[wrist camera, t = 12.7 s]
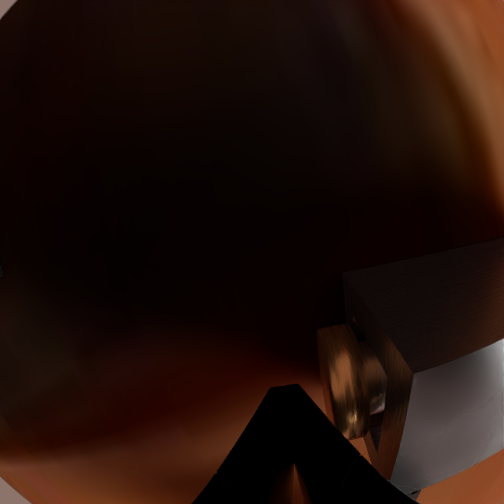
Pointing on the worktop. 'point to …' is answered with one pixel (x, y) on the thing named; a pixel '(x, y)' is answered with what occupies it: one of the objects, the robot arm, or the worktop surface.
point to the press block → (434, 360)
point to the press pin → (350, 380)
